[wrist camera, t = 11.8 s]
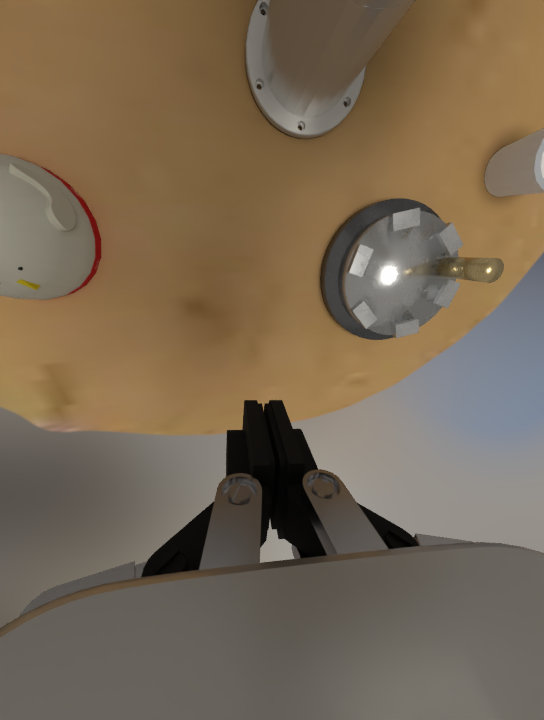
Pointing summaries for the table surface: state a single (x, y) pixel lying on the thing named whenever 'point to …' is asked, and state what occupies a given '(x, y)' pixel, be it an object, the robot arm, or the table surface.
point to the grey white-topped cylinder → (517, 167)
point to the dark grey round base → (337, 252)
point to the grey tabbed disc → (406, 272)
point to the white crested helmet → (43, 234)
